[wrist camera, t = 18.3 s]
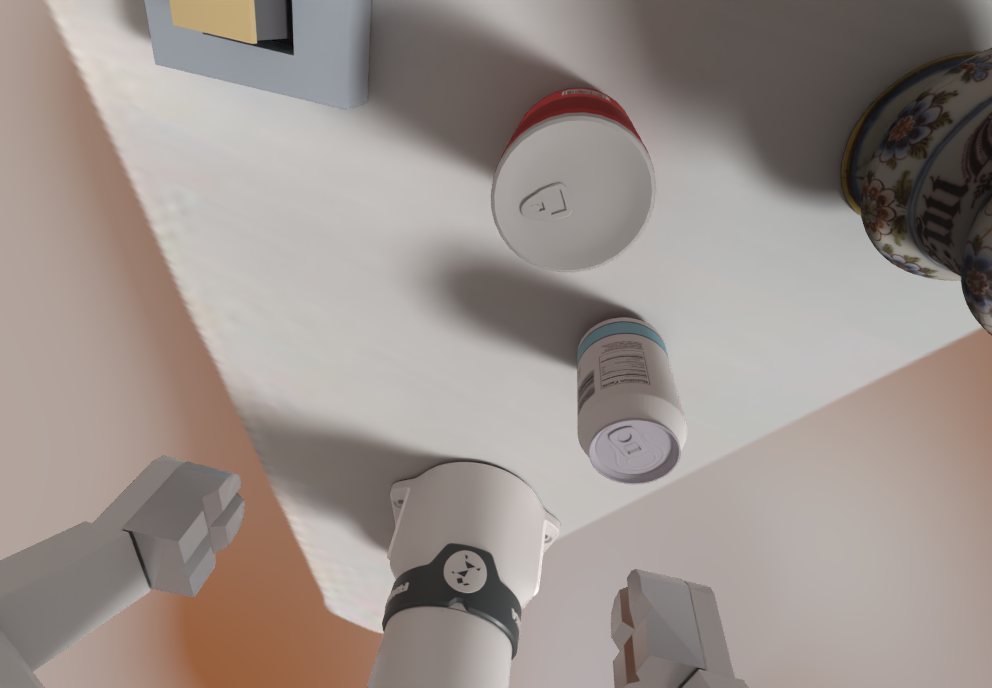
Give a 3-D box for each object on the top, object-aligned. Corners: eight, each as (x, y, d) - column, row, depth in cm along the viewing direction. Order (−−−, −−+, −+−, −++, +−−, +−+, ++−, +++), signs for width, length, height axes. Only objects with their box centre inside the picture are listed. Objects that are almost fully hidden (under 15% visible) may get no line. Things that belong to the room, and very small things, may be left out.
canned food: (490, 134, 33) (458, 179, 24) (598, 56, 30) (607, 73, 21) (550, 228, 36) (542, 300, 27) (654, 166, 33) (684, 224, 24)
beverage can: (603, 392, 43) (612, 503, 34) (561, 336, 41) (556, 438, 31) (678, 359, 41) (712, 469, 31) (637, 295, 38) (659, 394, 28)
